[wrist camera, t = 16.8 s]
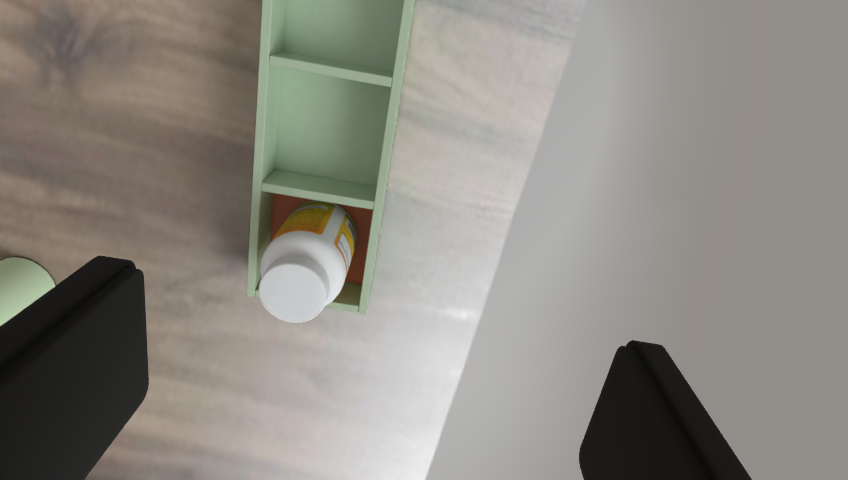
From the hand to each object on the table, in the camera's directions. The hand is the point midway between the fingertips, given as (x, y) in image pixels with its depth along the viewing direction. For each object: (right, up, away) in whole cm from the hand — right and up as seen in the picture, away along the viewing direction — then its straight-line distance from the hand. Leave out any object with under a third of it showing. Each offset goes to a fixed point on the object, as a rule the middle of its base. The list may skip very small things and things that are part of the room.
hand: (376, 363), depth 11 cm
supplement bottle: (-7, +3, +30) cm, 31 cm away
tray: (-5, +11, +27) cm, 30 cm away
